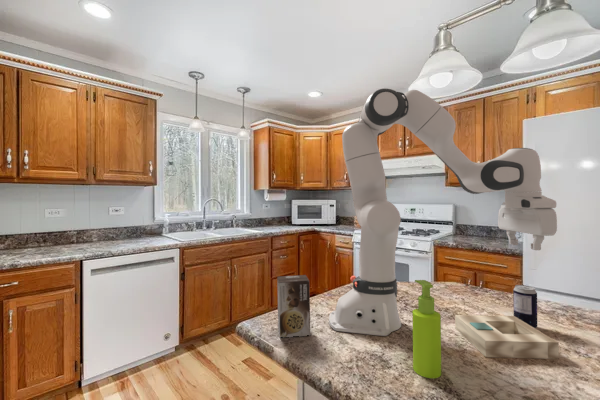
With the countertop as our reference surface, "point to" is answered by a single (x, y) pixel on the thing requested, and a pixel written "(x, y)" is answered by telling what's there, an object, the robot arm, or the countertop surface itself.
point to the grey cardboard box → (293, 306)
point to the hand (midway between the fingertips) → (524, 247)
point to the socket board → (506, 337)
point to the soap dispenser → (426, 335)
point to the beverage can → (525, 304)
